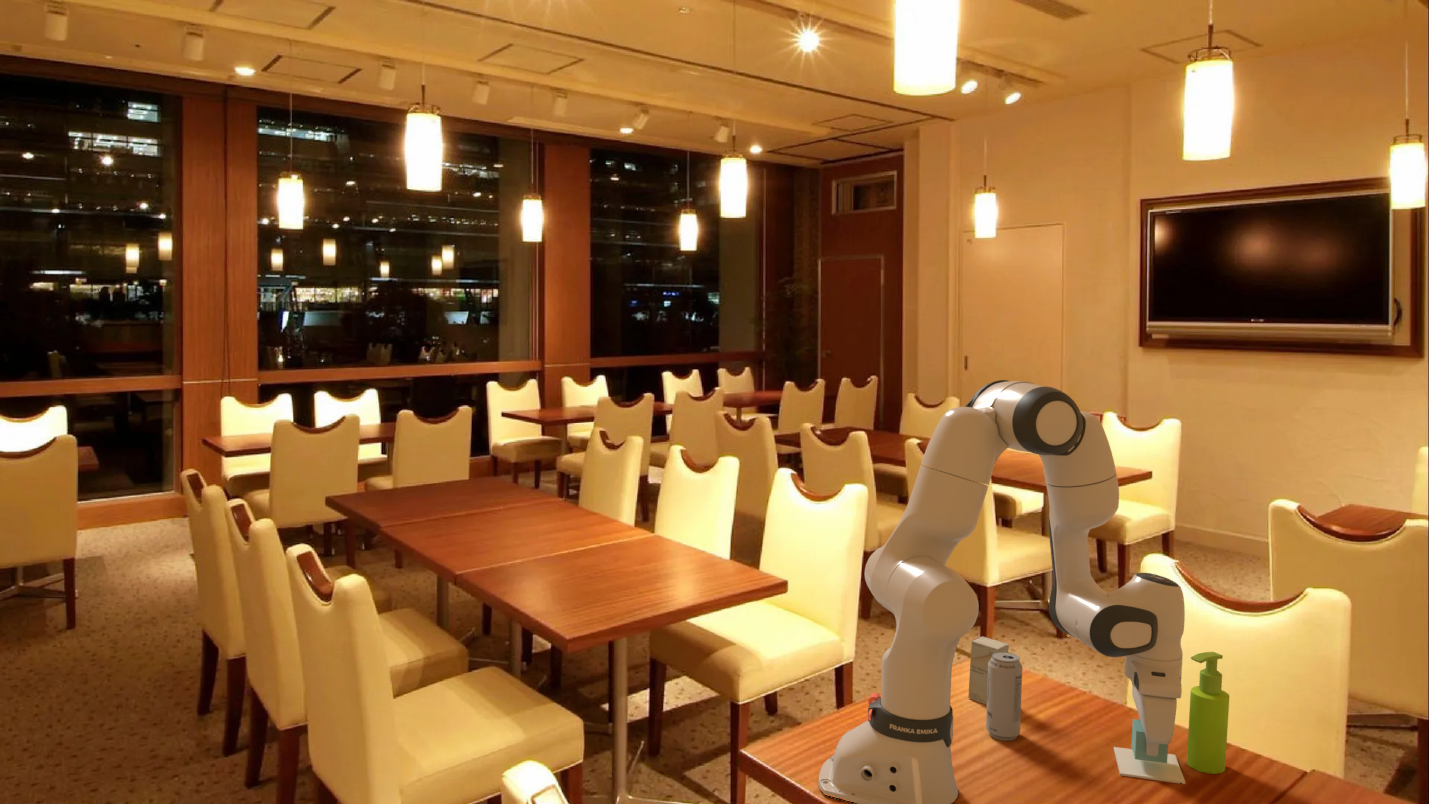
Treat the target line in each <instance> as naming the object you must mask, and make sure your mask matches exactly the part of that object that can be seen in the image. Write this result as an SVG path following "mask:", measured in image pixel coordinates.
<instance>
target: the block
mask: <svg viewBox="0 0 1429 804" xmlns="http://www.w3.org/2000/svg"><path fill="white" fill-rule="evenodd" d="M1131 729H1132V730H1131V746H1130V747H1131V749H1132V750H1133V754H1134V757H1135V759H1137V760H1144V761H1152V762H1160V763H1167V757H1168V754H1169V753H1168V752H1169V744H1159V749H1158V755H1157V756H1149V755H1147V753H1146V741H1147V739H1146V736H1145V733H1144V730H1143V726H1142V723H1141V720H1140V719H1136V718H1132V728H1131Z"/></svg>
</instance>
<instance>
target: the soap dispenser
mask: <svg viewBox="0 0 1429 804" xmlns="http://www.w3.org/2000/svg"><path fill="white" fill-rule="evenodd" d="M1223 656H1224V655H1222V654H1220V653H1217V652H1215V651H1206V652H1200V653H1197V654H1194V655H1193V656H1191V657H1190V659H1191V661H1194V662H1196V663H1199V664H1202V663H1205V668H1202V669H1201V670H1200V671H1199V681H1198V682H1199V685H1196V686H1193V687H1191V688H1190V697H1189V715H1188V716H1189V717H1188V732H1187V733H1188V735H1187V751H1186V755H1187V756H1186V764H1187V766H1189V767H1190V768H1192V769H1194V770H1196V771H1198V772H1200V773H1204V772H1205V774H1210V773H1211V775H1212V774H1213V775H1215V774H1217V775H1218V773H1219V774H1223V773H1224V772H1225V771H1226V760H1227V743H1228V742H1227V741H1228V727H1229V725H1228V724H1229V713H1230V712H1229V710H1230V709H1229V707H1230V695H1229V693H1228V692H1226V691H1224V690H1223V689H1222V687H1223V686H1222V683H1223V674H1222V672H1220V671H1218V660H1223Z"/></svg>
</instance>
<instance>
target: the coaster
mask: <svg viewBox="0 0 1429 804" xmlns="http://www.w3.org/2000/svg"><path fill="white" fill-rule="evenodd" d="M1113 752H1114V756H1115V760H1116V765H1117V768H1118V774H1119V776H1122V777H1123V776H1124V777H1129V778H1137V779H1144V780H1151V781H1152V780H1153V781H1158V782H1166V783H1174V784H1180V783H1182V785H1186V780H1185V777H1184V775H1183V771H1182V770H1181V767H1180V764H1179V761H1178V758H1177V756H1176V754H1173V753H1168V757H1167V763H1160V762H1152V761H1144V760H1137V759H1135V757H1134V754H1133V750H1132V748H1127V747H1125V748H1124V747H1117V746H1113Z"/></svg>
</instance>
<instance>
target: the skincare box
mask: <svg viewBox="0 0 1429 804" xmlns="http://www.w3.org/2000/svg"><path fill="white" fill-rule="evenodd" d="M970 647H971V648H970V665H969V678H968V679H969V681H968V682H969V683H968V696H967V697H968V699H970V700H972V701H975V702H978V703H980V704H983V705H985V706H987V685H988V662H989V661H990V659H991V658H992V654H993V653H995V652H1009V647H1010V644H1009V643H1006V642H1003V641H999V640H997V639H993V638H989V637H986V636H984V635H983V636H982V635H981V636H979V637H977V638H974V639H973V640H971V646H970Z"/></svg>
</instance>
